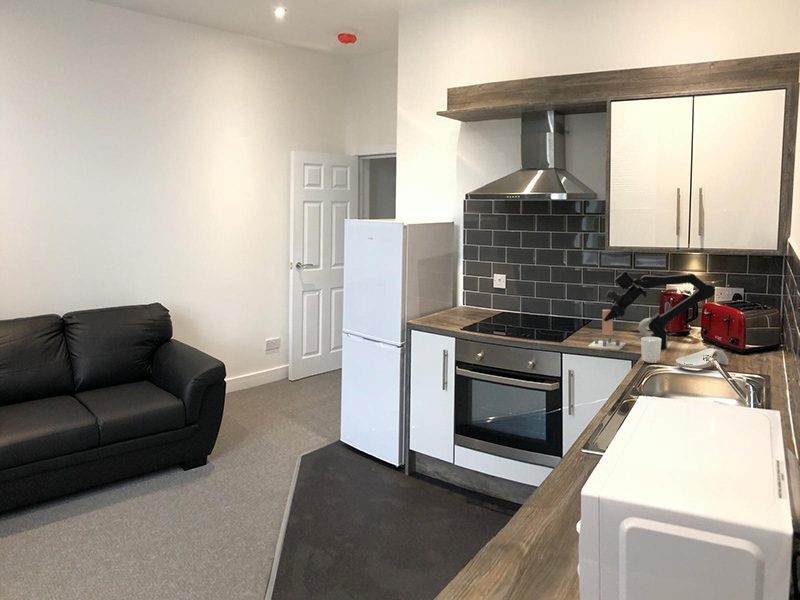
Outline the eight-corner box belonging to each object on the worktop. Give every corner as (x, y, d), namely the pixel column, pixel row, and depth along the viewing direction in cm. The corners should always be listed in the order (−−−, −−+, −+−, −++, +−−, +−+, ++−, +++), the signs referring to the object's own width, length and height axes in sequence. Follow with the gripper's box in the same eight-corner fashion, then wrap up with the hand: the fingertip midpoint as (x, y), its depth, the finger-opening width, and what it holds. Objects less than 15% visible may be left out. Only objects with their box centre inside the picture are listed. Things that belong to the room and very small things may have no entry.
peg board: (625, 344, 294) (625, 337, 293) (619, 350, 282) (619, 343, 281) (595, 341, 301) (595, 335, 300) (587, 347, 289) (588, 340, 289)
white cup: (650, 365, 254) (651, 341, 252) (636, 361, 261) (636, 337, 260) (665, 362, 257) (665, 339, 255) (650, 359, 264) (651, 335, 263)
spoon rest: (694, 375, 238) (694, 357, 237) (669, 368, 248) (669, 351, 247) (735, 367, 248) (736, 349, 247) (710, 361, 258) (710, 344, 257)
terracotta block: (612, 332, 292) (612, 309, 290) (612, 334, 288) (612, 311, 286) (602, 332, 293) (602, 309, 292) (602, 334, 289) (602, 311, 288)
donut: (638, 337, 307) (638, 317, 306) (638, 336, 311) (639, 316, 309) (659, 339, 303) (660, 318, 302) (660, 337, 306) (660, 317, 305)
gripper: (616, 281, 295) (592, 304, 300) (617, 286, 277) (591, 310, 282) (634, 298, 293) (609, 321, 298) (635, 304, 276) (609, 328, 281)
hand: (604, 319), depth 290 cm, fingers closed on terracotta block, 5 cm apart
